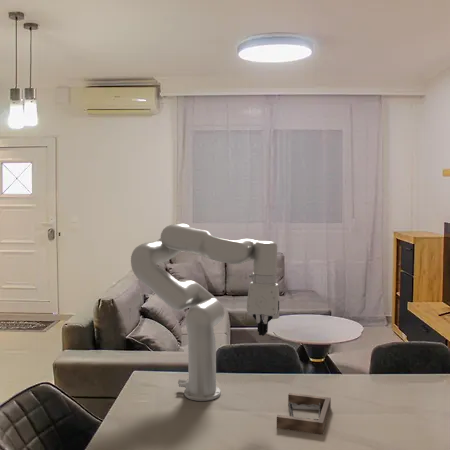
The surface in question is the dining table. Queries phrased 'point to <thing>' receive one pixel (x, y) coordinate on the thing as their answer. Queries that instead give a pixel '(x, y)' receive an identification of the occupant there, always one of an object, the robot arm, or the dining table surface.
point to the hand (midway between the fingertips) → (262, 334)
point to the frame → (304, 423)
